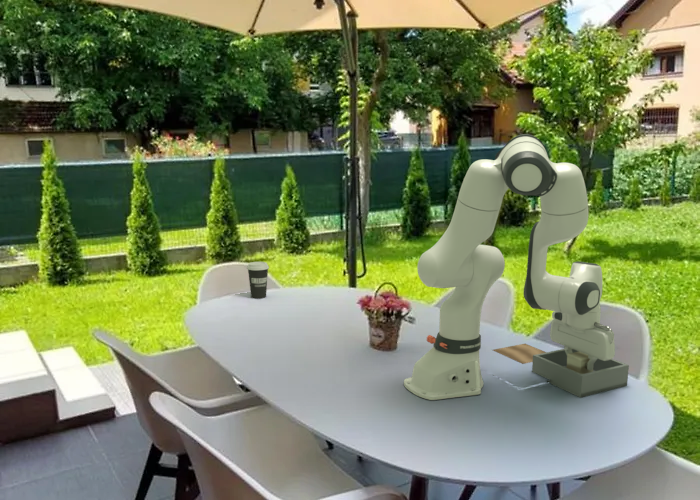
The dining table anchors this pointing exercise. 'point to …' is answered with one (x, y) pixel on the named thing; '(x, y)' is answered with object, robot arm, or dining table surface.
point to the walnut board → (520, 352)
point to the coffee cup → (258, 279)
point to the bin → (578, 384)
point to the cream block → (578, 362)
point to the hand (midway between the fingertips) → (579, 365)
